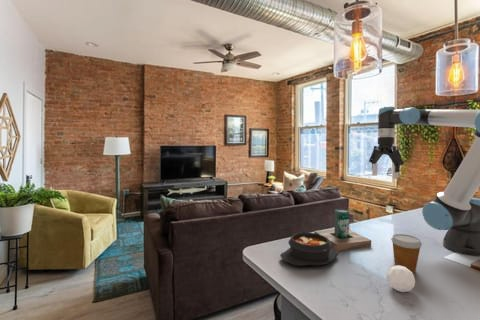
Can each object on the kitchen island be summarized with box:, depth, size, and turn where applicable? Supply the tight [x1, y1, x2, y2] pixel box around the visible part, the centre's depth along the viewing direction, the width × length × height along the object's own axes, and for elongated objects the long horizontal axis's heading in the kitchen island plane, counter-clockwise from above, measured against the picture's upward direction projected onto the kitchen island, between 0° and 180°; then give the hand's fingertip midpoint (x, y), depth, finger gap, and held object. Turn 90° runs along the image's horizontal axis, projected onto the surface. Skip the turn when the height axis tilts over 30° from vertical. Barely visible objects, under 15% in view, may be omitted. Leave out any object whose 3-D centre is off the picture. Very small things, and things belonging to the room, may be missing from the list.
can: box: [334, 208, 350, 239], centre depth 123 cm, size 6×6×15 cm
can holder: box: [313, 228, 372, 252], centre depth 123 cm, size 18×18×3 cm
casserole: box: [279, 232, 339, 267], centre depth 105 cm, size 25×19×8 cm
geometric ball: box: [386, 265, 416, 293], centre depth 83 cm, size 8×8×8 cm
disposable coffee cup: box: [390, 233, 423, 274], centre depth 96 cm, size 10×10×12 cm
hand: (384, 177), depth 138 cm, fingers open, 13 cm apart
